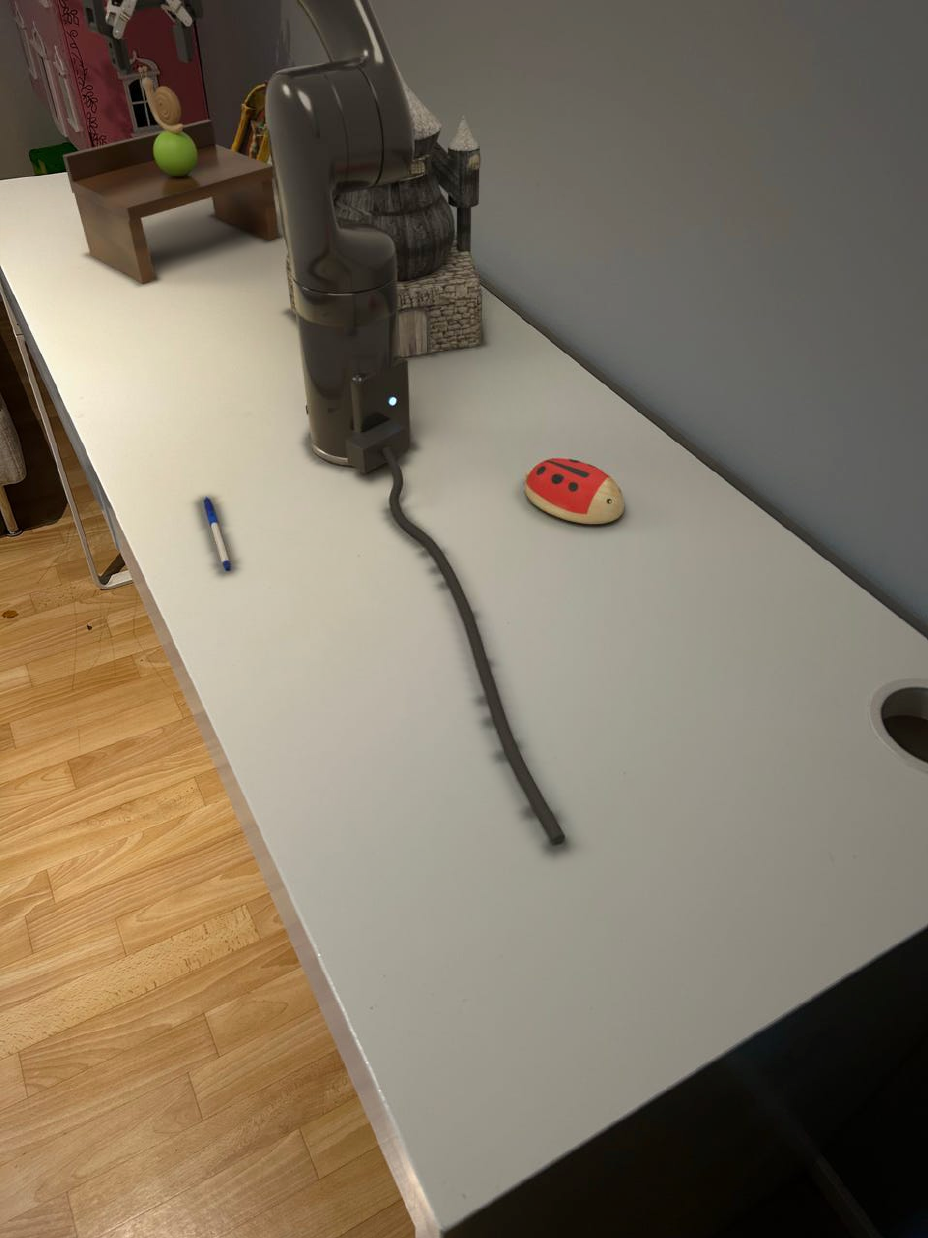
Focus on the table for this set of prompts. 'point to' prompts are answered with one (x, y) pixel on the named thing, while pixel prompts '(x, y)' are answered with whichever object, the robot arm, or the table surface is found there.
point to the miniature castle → (428, 237)
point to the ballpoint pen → (216, 533)
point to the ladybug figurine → (574, 491)
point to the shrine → (253, 127)
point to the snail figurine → (169, 131)
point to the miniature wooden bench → (163, 194)
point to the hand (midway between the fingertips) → (156, 67)
